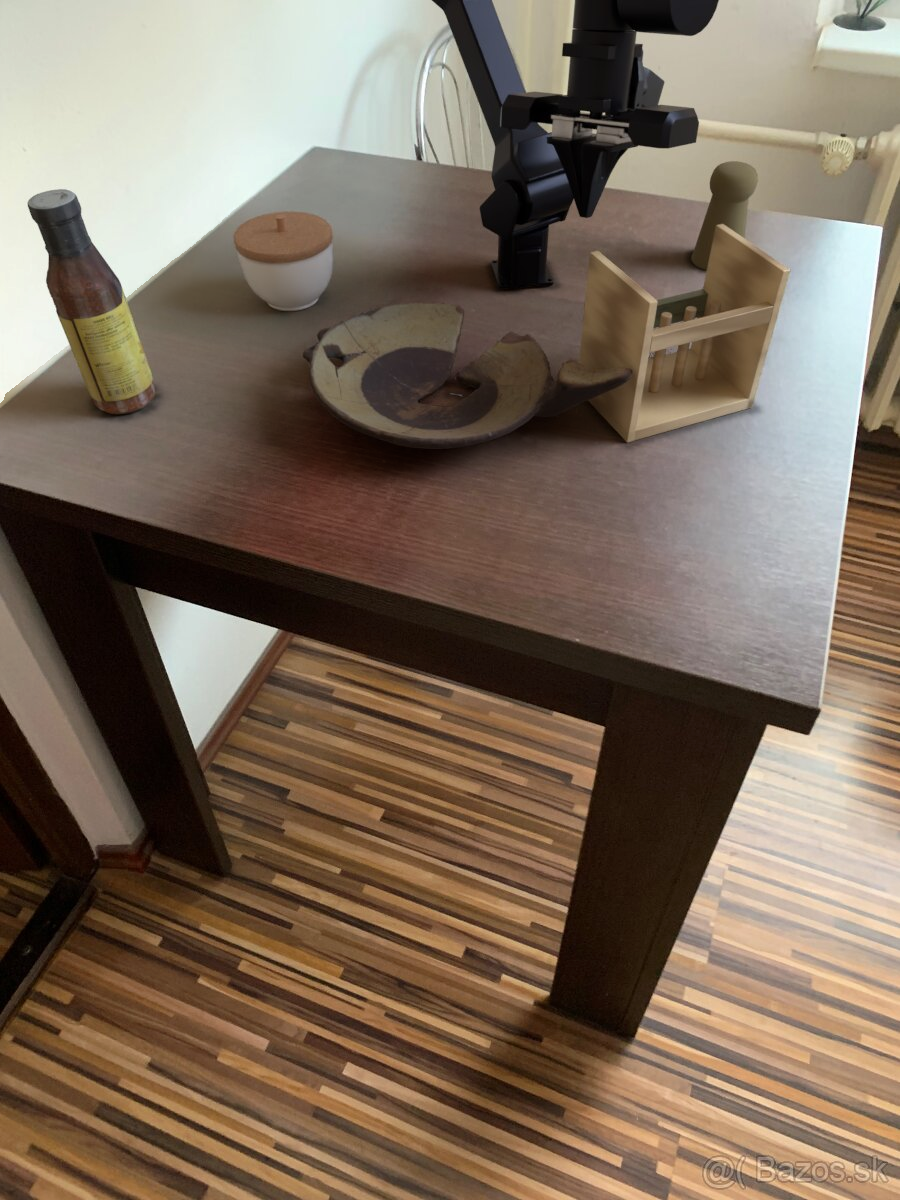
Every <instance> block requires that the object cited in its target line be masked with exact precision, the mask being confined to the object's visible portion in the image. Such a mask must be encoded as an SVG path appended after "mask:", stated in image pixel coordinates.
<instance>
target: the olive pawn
mask: <svg viewBox="0 0 900 1200" xmlns="http://www.w3.org/2000/svg"><path fill="white" fill-rule="evenodd" d="M758 181H759V174H758V172H757V169H756V168H755V167H754V166H752V165H751V164H749V163H747V162H743V161H737V160H736V161H735V160H731V161H725V162H722V163H720V164H718V165H717V166H716V167H715V168H714V169H713V171H712V173H711V176H710V179H709V189H710V192H711V198H710V200H709V201H710V202H709V203H708V206H707V210H706V213H705V215H704V218H703V221H702V224H701V228H700V231H699V234H698V237H697V240H696V243H695V246H694V248H693V252H692V255H691V261H692V263H693V264H694V265H695V266H696V267H698V268H700V269H702V270H706V271H707V267H708V262H709V257H710V252H711V248H712V243H713V238H714V233H715V228H716V225H719V224H724V225H725V226H727V227H728V228H730V229H731V230H733V231H734V232H736V233H737V234H739V235H740V236H742V237H743V238H745V239H746V229H747V221H748V210H749V199H750V198H751V197H752V196H753V195H754V193H755V191H756V189H757V185H758Z"/></svg>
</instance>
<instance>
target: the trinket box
mask: <svg viewBox="0 0 900 1200" xmlns="http://www.w3.org/2000/svg"><path fill="white" fill-rule="evenodd" d="M333 238H334V235H333V228H332V225H331V224H330V223H329V222H328V221H327V219H325V218H323V217H321V216H319V215H317V214H313V213H310V212H305V211H303V212H302V211H276V212H271V213H266V214H261V215H258V216H255V217H253V218H250V219H248V220H246V221H244V222H243V223H241V224H240V225H239V226H238V227H237V228H236V230H235V231H234V234H233V244H234V248H235V251H236V254H237V258H238V262H239V265H240V268H241V271H242V275H243V276H244V279H245V281H246V283H247V285H248V286H249V288H250V289H251V291H253V293H254V294H255V295H256V296H257V297H258V298H260V299H261V300H262V301H264V302H266V304H267V305H268V306H269V307H270V308H271V309H274V310H277V311H283V312H295V311H301V310H304V309H308V308H311V307H312V306H314V305H315V304H317V302H318V301H319V299H320V297H321V296H322V295H323V293H324V292H325V291H326V289H327V288H328V286H329V284H330V281H331V279H332V275H333V271H334V270H333V269H334V243H333Z"/></svg>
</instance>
